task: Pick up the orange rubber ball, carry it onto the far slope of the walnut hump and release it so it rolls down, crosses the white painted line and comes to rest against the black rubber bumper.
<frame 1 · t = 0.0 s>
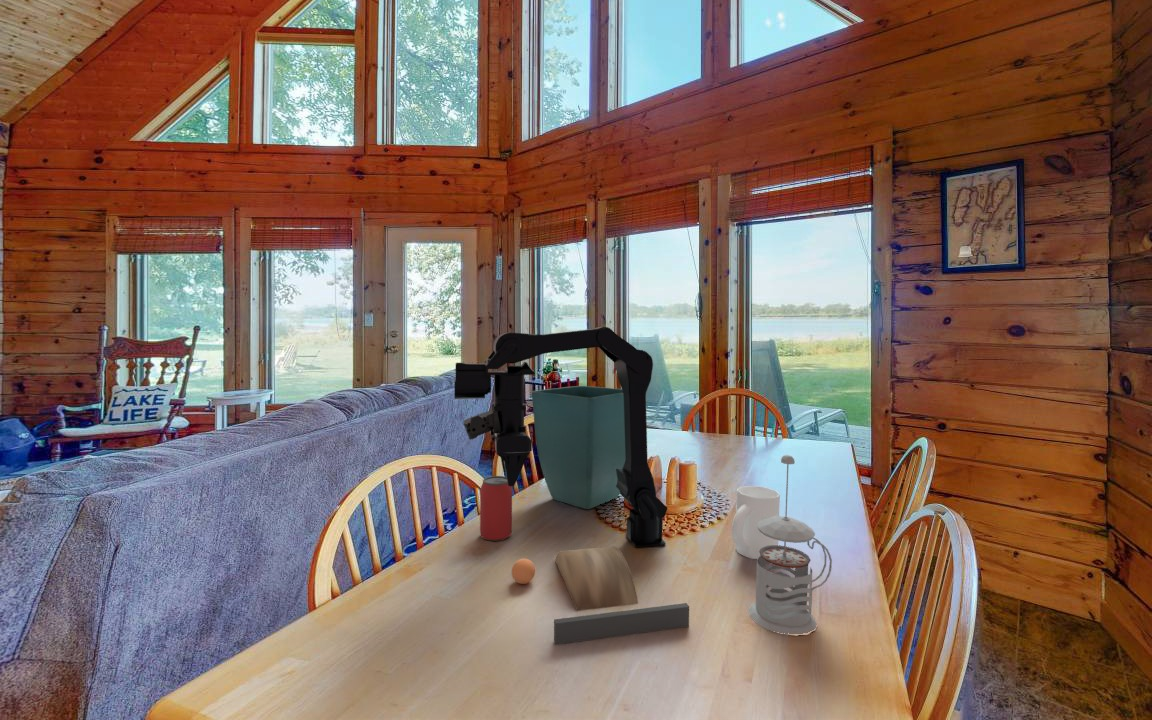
hand: (508, 478, 96), 15 cm above the table, fingers open, 9 cm apart
line: (613, 615, 76), on the table
ball: (523, 571, 86), point 2 cm above the table
mug: (750, 554, 98), on the table
beer can: (495, 536, 105), on the table
french press: (788, 618, 76), on the table
bumper: (623, 633, 72), on the table
hump: (593, 579, 87), on the table
flower pot: (583, 499, 130), on the table
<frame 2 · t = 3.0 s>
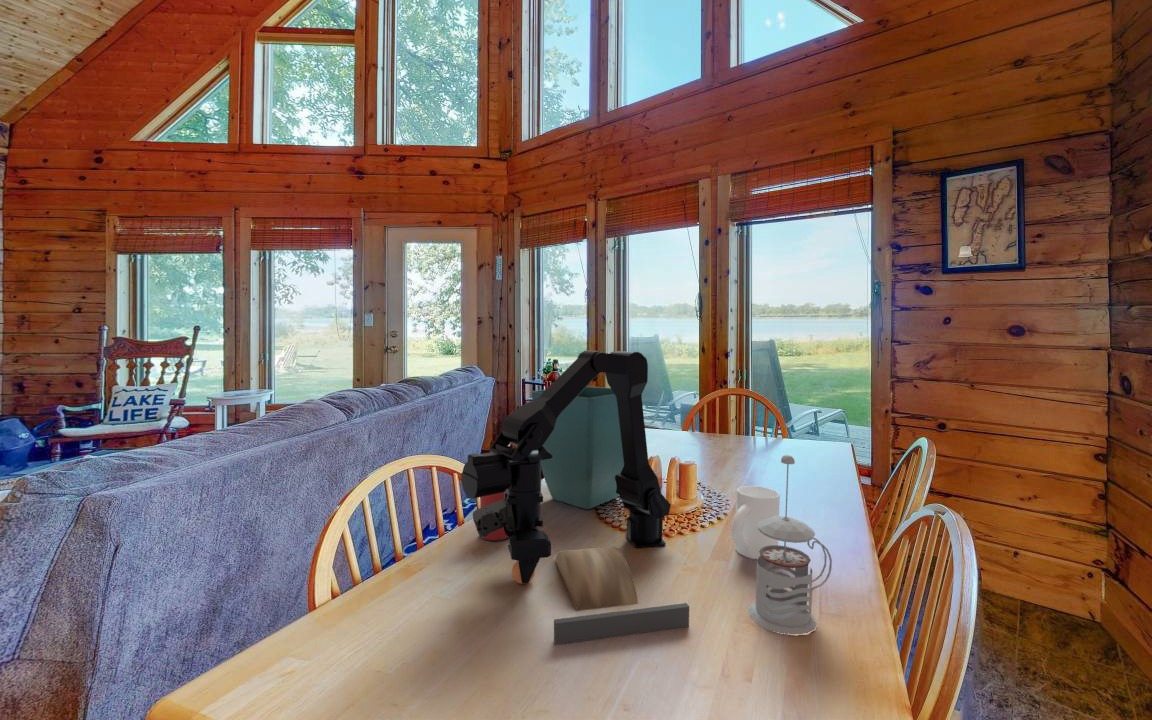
hand: (523, 576, 86), 1 cm above the table, fingers closed on ball, 4 cm apart
ball: (523, 571, 86), point 2 cm above the table, touching gripper
everything else where it was.
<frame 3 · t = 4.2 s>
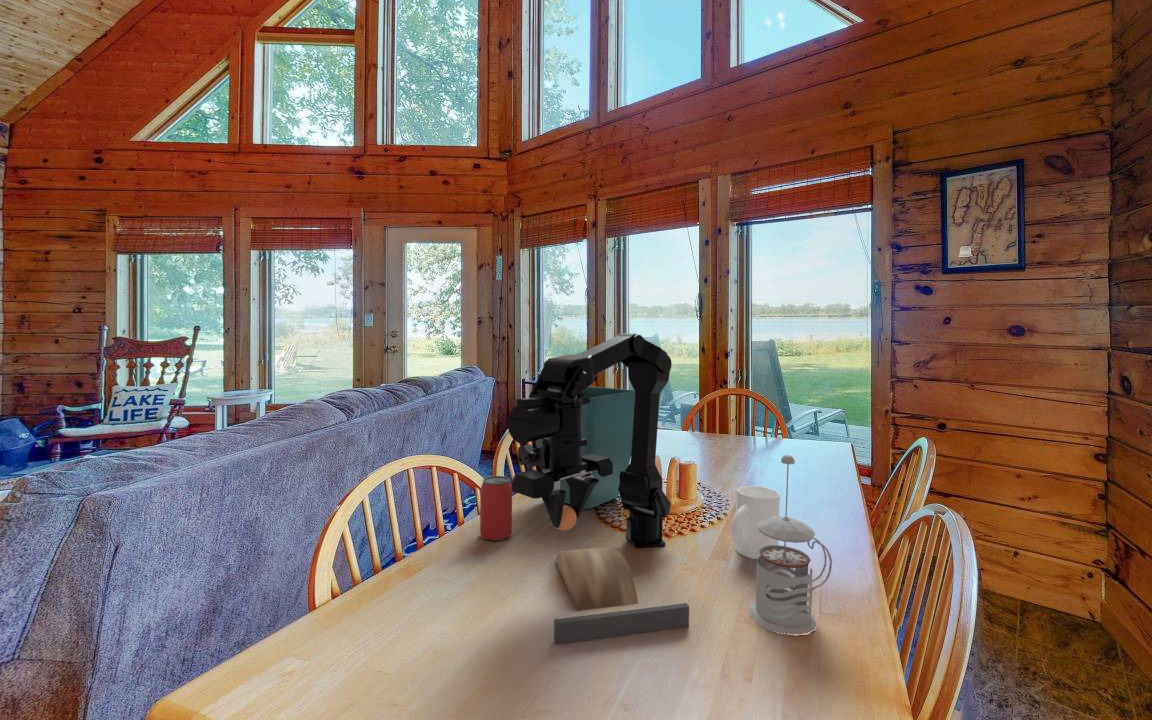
hand: (565, 523, 85), 11 cm above the table, fingers closed on ball, 4 cm apart
ball: (564, 517, 85), point 11 cm above the table, touching gripper
everything else where it was.
when the fingers open (6 cm above the table, at t = 5.7 s): ball drops 5 cm, point 2 cm above the table.
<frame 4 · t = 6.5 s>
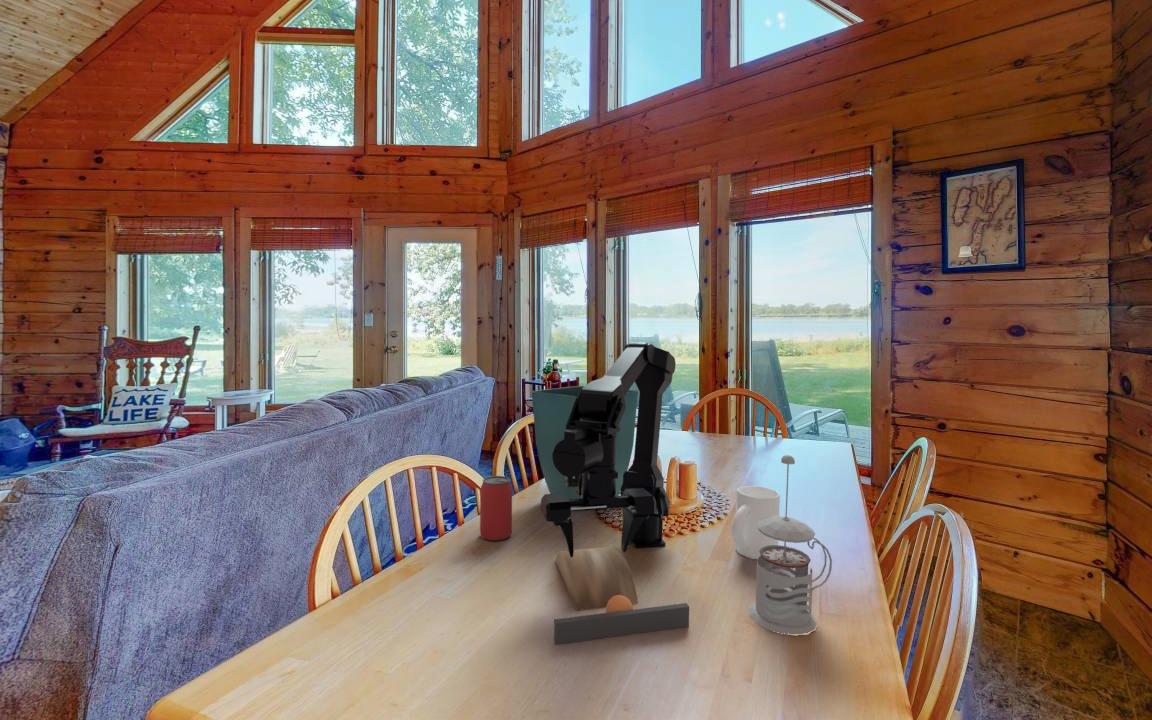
hand: (597, 553, 84), 6 cm above the table, fingers open, 9 cm apart
ball: (619, 609, 74), point 2 cm above the table
everything else where it was.
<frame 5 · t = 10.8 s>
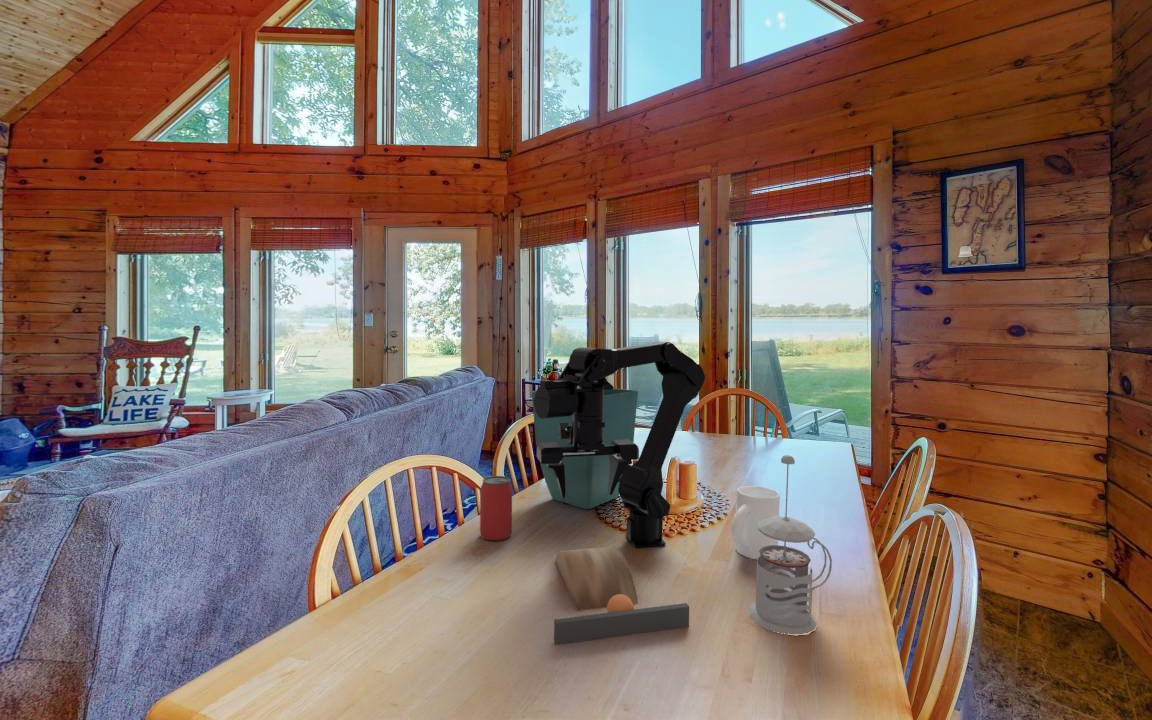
hand: (587, 495, 95), 12 cm above the table, fingers open, 9 cm apart
ball: (620, 609, 74), point 2 cm above the table, tilted 11°
everything else where it was.
at the end: ball inside the target area (1.5 cm from its centre), point 2.0 cm above the table; the gripper is holding nothing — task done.
